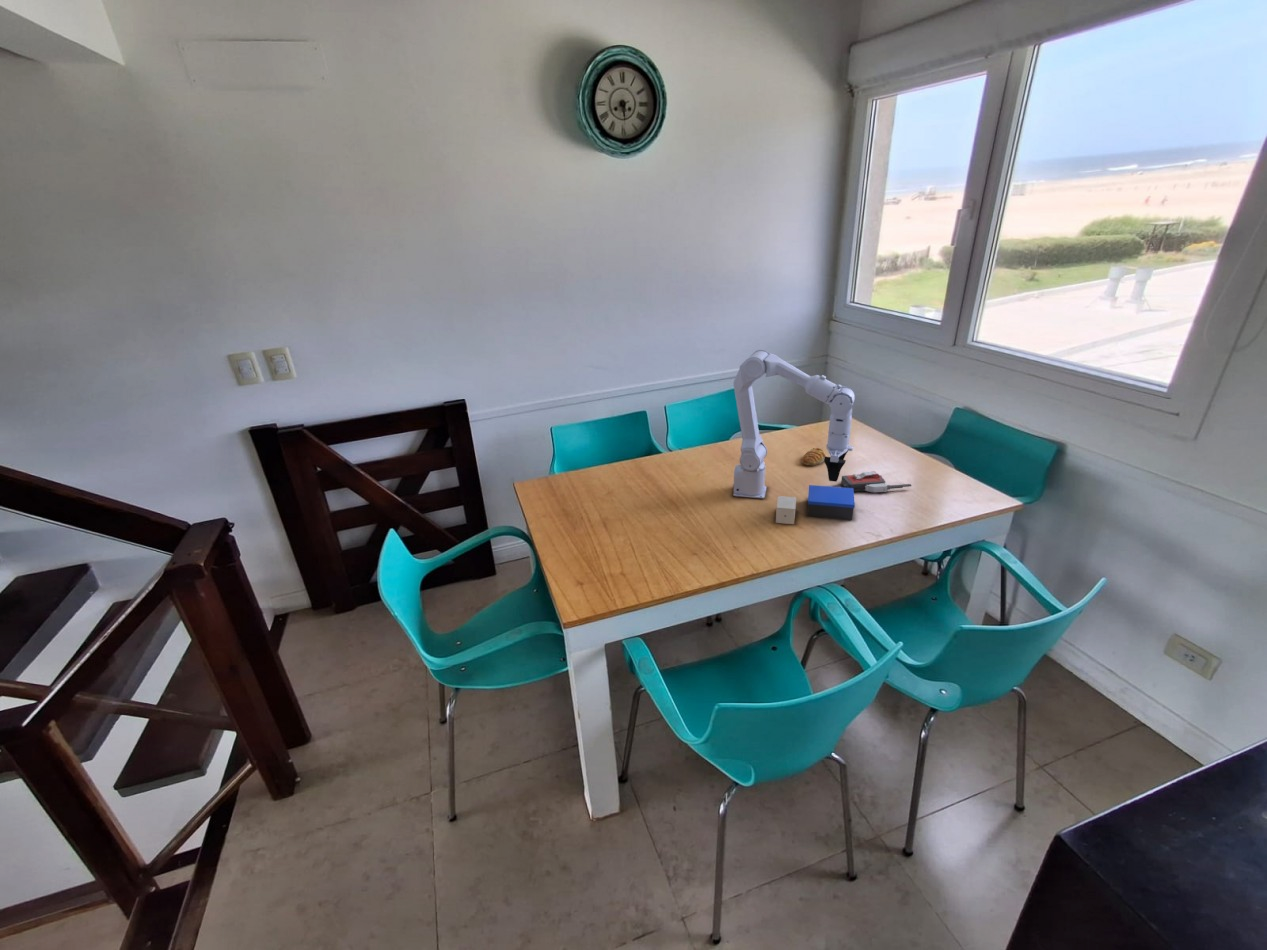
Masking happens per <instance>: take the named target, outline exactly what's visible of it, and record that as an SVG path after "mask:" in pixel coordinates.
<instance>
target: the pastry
mask: <svg viewBox="0 0 1267 950" xmlns="http://www.w3.org/2000/svg"><path fill="white" fill-rule="evenodd" d="M825 457H828V456H827V454H826V452H825V450H824V449H822V448H821V447H813V448H812V449H810V450H808V451H806V453H804V455H803V458H802V463H803V465H807V466H813V467H814V466H817V465H820V464H822V463H823V462H824V458H825Z"/></svg>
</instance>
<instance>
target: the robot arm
mask: <svg viewBox="0 0 1267 950" xmlns="http://www.w3.org/2000/svg"><path fill="white" fill-rule="evenodd" d="M764 375H765V378H768V377H774V376H779V377H781V378H784V379H785V380H788V381H790V382H793V383H795V384H796V385H799V386H801V387H802V388H804V391H805V393H806V394H807V395H809V396H811V397H812V398H815V399H816V400H817V401H820V402H822V403H824V404H826V405H829V408H830V410H831V412H830V415H829V422H828V423H829V424H828V433H827V443H826V445H825V446H826V447H825V448H826V450H827V452H828V453H829V455H830V456H827V457H825V458H824V461H823V462H824V464H825V466H826V469H827V477H828V481H829V482H835V483H836V482H838V479H839V477H840V475H841V474H840V473H841V470H842V469H843V467H844V466H845V464H846V461H847V460H846V459H845V458H846V455H847V453H848V452H852V451H853V450H854V446H853V445H850V438H851V430H852V421H853V416H852V414H853V408H854V402H855V399H856V395H855V392H854V391H853V390H852V388H850V387H849V386H844V385H842V384H840V383H839V384H836V383H834V382H832V381H830V380H828V379H826V378H827V376H826V375H824V374H822V375H820V374H815V375H810V374H808V373H806V372H804V371H802V370H800V368H798V367H795V366H794V365H792V364H791V363H789V362H787V361H785V360H784V359H782V358H780V357H779V356H778V355H776V354H775V353H770V352H769V351H767V350H766V349H757V350H755V351H754V352H753V353H752V354H751V355H750V356H749V357H748V358H747V359H745V360H744V361H743V362H742V363H741V364H740V365H739V369H738V371H737V373H736V375H735V378H734V380H733V390H734V395H735V401H736V402H735V403H736V409H737V414H738V422H739V426H740V433H741V446H740V453H741V454H740V457H739V464H735V466H734V471H733V473H734V474H733V496H734V497H737V498H739V497H740V498H753V499H762V500H763V499H765V498H766V493H767V485H765V482H766V464H765V461H764V459H765V458H766V457H767V455H768V448H767V446H766V445H765V442H764V440H763V437H762V436H761V435H760V430H759V424H758V423H759V422H758V417H757V416H758V415H757V410H756V404H755V403H756V402H755V396H754V390H753V384H754V383H755V382H756V381H757V380H759V379H760V378H761V377H763V376H764Z"/></svg>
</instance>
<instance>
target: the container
mask: <svg viewBox="0 0 1267 950" xmlns="http://www.w3.org/2000/svg"><path fill="white" fill-rule="evenodd" d="M807 495H808V496H807V517H814V518H825V519H834V520H835V519H837V520H847V521H853V516H854V509H855V506H856V504H855V503H856V502H855V492H854V490H853V488H844V486H842V487H841V486H829V485H815V484H809V485H808V494H807Z"/></svg>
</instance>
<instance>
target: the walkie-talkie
mask: <svg viewBox="0 0 1267 950" xmlns="http://www.w3.org/2000/svg"><path fill="white" fill-rule="evenodd" d="M840 484H841V485H842V487H843V488H853V490H854V493H855V492H870V493H886V492H888V490H891V489H892V490H893V489H903V488H907V487H912V484H911V483H903V484H892V485H890V484H886V480H885V479H884V478H883V476H882V475H880V474H879V473H877V472H876V471H874V470H873V471H863V472H862V473H860V474H856V473H853V474H847V475H842V476H841V481H840Z"/></svg>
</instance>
